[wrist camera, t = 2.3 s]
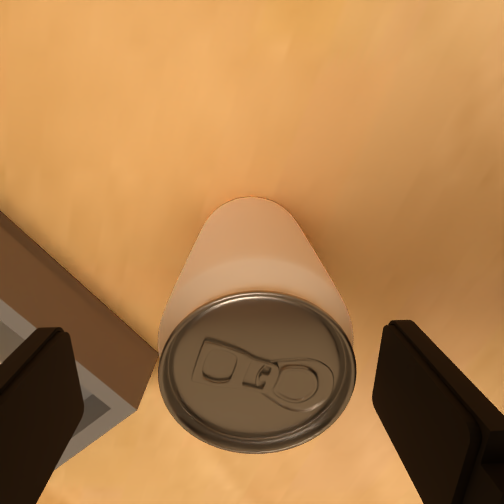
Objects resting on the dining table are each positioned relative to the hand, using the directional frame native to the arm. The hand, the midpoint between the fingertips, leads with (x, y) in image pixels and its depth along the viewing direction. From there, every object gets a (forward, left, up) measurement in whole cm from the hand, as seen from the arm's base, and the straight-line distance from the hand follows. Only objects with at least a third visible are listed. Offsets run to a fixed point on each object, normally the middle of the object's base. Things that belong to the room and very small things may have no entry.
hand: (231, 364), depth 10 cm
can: (-1, -1, -12) cm, 12 cm away
